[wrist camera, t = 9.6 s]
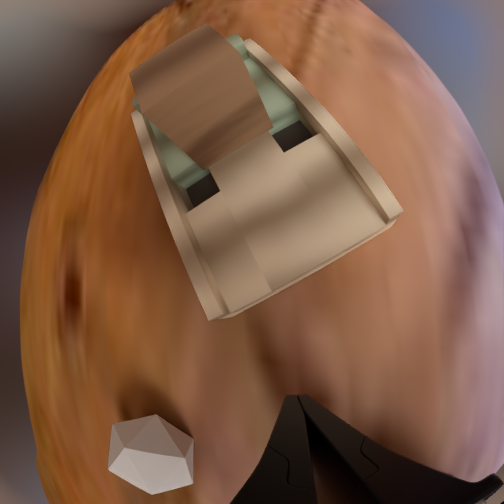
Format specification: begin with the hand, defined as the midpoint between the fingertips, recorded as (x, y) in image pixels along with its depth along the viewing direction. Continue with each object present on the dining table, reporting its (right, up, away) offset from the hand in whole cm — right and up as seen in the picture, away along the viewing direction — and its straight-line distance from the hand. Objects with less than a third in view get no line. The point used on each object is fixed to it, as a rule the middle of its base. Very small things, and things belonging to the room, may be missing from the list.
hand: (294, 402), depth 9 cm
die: (-10, -14, +14) cm, 22 cm away
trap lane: (-2, +13, +16) cm, 21 cm away
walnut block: (-4, +17, +14) cm, 22 cm away
